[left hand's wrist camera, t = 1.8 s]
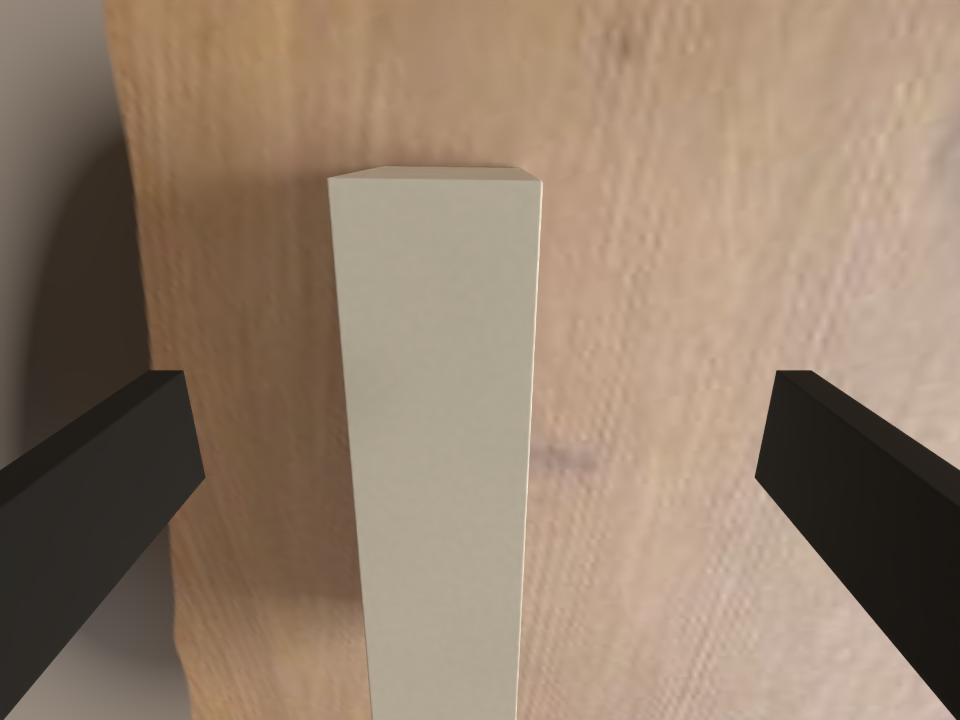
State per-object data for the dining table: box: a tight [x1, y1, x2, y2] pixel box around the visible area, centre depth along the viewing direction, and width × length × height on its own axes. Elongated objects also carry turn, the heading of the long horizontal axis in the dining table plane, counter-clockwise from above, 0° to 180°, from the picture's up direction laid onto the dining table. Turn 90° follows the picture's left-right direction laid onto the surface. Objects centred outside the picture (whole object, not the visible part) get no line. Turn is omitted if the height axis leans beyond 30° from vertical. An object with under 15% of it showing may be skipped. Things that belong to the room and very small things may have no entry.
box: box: [327, 166, 543, 720], centre depth 24 cm, size 24×6×9 cm, turn 179°
